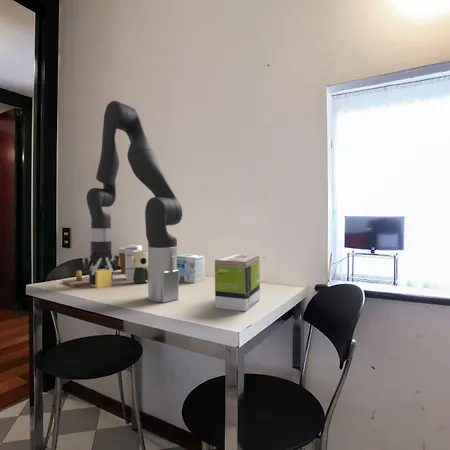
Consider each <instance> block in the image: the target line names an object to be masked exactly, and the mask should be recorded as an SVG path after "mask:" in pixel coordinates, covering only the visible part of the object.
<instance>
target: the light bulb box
mask: <svg viewBox="0 0 450 450" xmlns="http://www.w3.org/2000/svg"><path fill="white" fill-rule="evenodd" d="M205 259H206V258H205V255H199V254H198V255H197V254H188V253H187V254H186V253H184V254H179V255H178V254H177V270H178V272H179V273H178V282H186V283H191V284H199V283H201V282H205V276H206V275H205V272H206V269H205V267H206V266H205V263H206V262H205V261H206V260H205Z"/></svg>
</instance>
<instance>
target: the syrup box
mask: <svg viewBox="0 0 450 450" xmlns="http://www.w3.org/2000/svg"><path fill="white" fill-rule="evenodd" d="M124 247H125V274H124V275H125V281H133V279H134V271H135V268H136V267H133V266H132V265H131V257H132V251H136V250H143V246H142V245H141V244H140V245H139V244H132V245H127V246H124Z"/></svg>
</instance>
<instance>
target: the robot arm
mask: <svg viewBox="0 0 450 450" xmlns="http://www.w3.org/2000/svg"><path fill="white" fill-rule="evenodd" d="M102 125H103V126H102V135H101V137H102V139H101V141H102V142H101V151H100V152H101V153H100V158H99V162H98V166H97V171H96V176H95V178H96V180H97V182H99V183H100V184H101V183H102V185H103V186H102V187H103V188H98V187H93V188H90V189H89V190H88V191H87V193H86V204H87V208H88V211H89V214H90V217H91V218H90V221H91V222H90V223H91V224H90V226H91V228H90V229H91V230H90V256H89V257H82V259H81V261H82V268H83V273H84V274H87V275H88V277H89V282H90V283H91V284H92V285H94V284H95V275H94V274H95V272H96V270H98V269H99V268H101V267H102V266H103V267H105V269H108V270H112V280H113V278H114V277H113V273H114V272H115V271H118V268H119V262H120V258H119V255H117V254H112V223H111V222H112V221H111V220H112V219H111V214H109V213H107V212H105V211H104V210H103V208H109V207H112V206H113V205H114V203H115V201H116V197H117V192H116V191H117V189H116V185H117V184H116V180H117V176H118V175H117V174H118V171H119V167H120V158H119V153H118V149H117V146H116V133H117V130H120V131H123V132H124V133H125V134H126V135H127V137H128V140H129V142H130V144H129V147H128V151H127V161H128V163H129V165H130V167H131V170H132V173H133V174H134V176H135V178H137V179H138V180H139V181H140V182H141V183H142V184H143V185H144V186H145V187H146V188H147V189H148V190H149V191H150V192H151V193H152V194H153V196H154V197H150V198H149V199H148V200H147V203H146V205H145V211H144V216H145V217H144V218H145V219H144V220H145V236H146V240H147V246H148V247H147V249H148V267H147V269H148V282H147V294H148V295H147V299H148V301H150V302H155V303H167V302H171V301H175V300H179V281H178V273H179V272H178V270H177V256H178V252H177V251H178V239H177V238H176V237H175V236H173V235H171V234H170V233H169V232H168V230H167V226H175V225H178V224H179V223H181V221H182V219H183V208H182V206H181V203H180V201H179V199H178V197H177V196H176V194H175V193H174V191H173V189H172V188H171V185H170V184H169V183H168V181H167V179H166V176H165V174H164V172H163V170H162V168H161V166H160V164H159V161H158V159H157V157H156V155H155V153H154V151H153V148H152V147H151V144H150V142H149V140H148V138H147V136H146V133H145V130H144V127H143V124H142V122H141V118H140V115H139V114H138V111H137V110H136V109H135V108H134V107H131V106H129V105H128V104H125V103H122V102H120V101H119V100H118V101H117V100H112V101H110V102H108V104H107V106H106V107H105V111H104V114H103V124H102ZM111 260H112V262H111ZM90 261H91V262H92V263H91V265H90V264H89V263H90ZM111 263H112V264H111Z"/></svg>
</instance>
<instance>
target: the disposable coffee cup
mask: <svg viewBox="0 0 450 450" xmlns="http://www.w3.org/2000/svg"><path fill="white" fill-rule="evenodd" d="M125 247H126V246H124V247H123V246H122V247H119V248H118V250H117V252H118V256H119V264H120V271H121V274H122V275H125Z"/></svg>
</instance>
